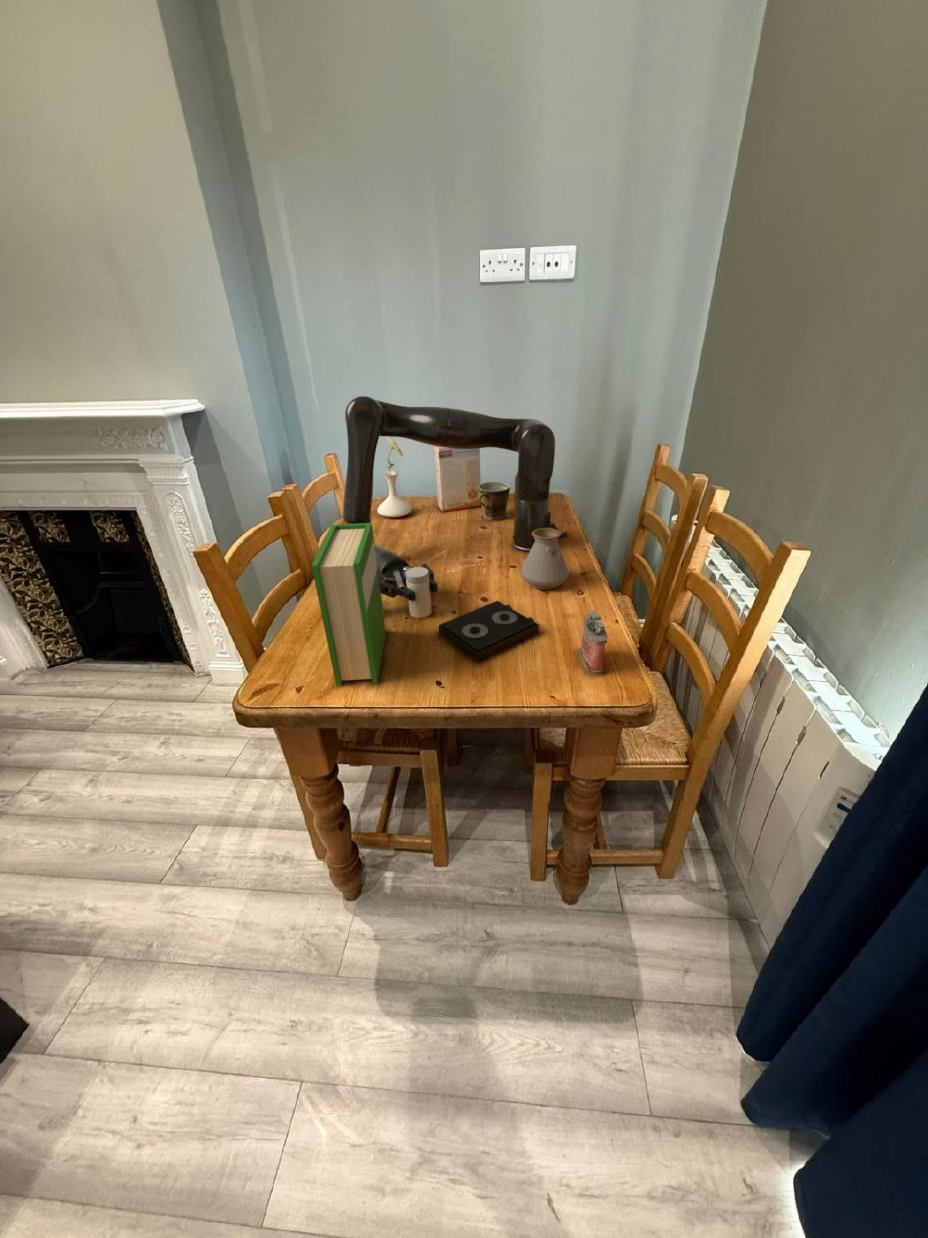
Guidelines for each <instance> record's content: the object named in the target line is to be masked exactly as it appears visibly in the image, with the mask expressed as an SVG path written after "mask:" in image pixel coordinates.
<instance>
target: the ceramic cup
mask: <svg viewBox="0 0 928 1238" xmlns="http://www.w3.org/2000/svg"><path fill="white" fill-rule="evenodd" d="M478 489H479V495H480V498H479V501H480V503H481V508H482V514H483V517H484V519H485V520H488V521H500V520H503V519H504V518H505V517H506V512H507V507H508V501H509V497H510V492H511V485H510V484H509V483H507V482H502V481H489V482H483V483H481V485H479V486H478Z"/></svg>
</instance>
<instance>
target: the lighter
mask: <svg viewBox="0 0 928 1238" xmlns="http://www.w3.org/2000/svg"><path fill="white" fill-rule="evenodd" d="M582 627H583V628H582V635H581V644H580V648H579V658H580V661H581V664H582V665H583V667H584V668H585V670H586V671H587V672H588V673H589V674H591V675H593V676H600V675H602V674H603V673H604V658H605V651H606V644H607V643H608V634H607V631H606V626H605V624H604V623H603V621H602V616H601V614H600V613H599V614H598V613H597V611H596V610H589V612H588V616H587V617H584V618H583V619H582Z"/></svg>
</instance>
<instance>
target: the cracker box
mask: <svg viewBox="0 0 928 1238" xmlns="http://www.w3.org/2000/svg"><path fill="white" fill-rule="evenodd" d="M433 449H434V450H433V451H434V466H435V477H436V492H437V507H438V508H439V509H440V510H441V511H442V512H450V511H457V510H462V509H470V508H476V507H477V508H478V507H482V504H481V503H480V501H479V498H480V495H479V489H478V486H479V485H481V484H482V483H481V481H482V480H481V479H482V477H481V448H478V449H452V448H444V447H438V446H433Z"/></svg>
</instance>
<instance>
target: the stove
mask: <svg viewBox="0 0 928 1238" xmlns="http://www.w3.org/2000/svg"><path fill="white" fill-rule="evenodd" d="M437 627H438V628H437V629H438V630H437V631H438V635H439V636H441V637H442V638H443V639H445V640H446V641H447V642H449V643H450V644H452V645H453V646H454V647H455V648H457V649H458V650H459V651H461V652H463V653H464V654H465V655H467V656H468V657H469V658H470V659H472V660H473V661H474V662H475V663H480V662H482V661H484V660H486V659H488V658H491V657H492V656H495V655H496V654H498V653H501V652H503V651H505V650H507V649H509V648H511V647H513V646H515V645H517V644H519V643H521V642H524V641H525V640H528V639H529V638H531V637H533V636H535V635H537V634H539V623H537V622H535V620H534V618H533V617H532V616H529V617H527V616H525V615H523V614H521V613H520V612H518V611H516V610H515V609H513V607H512V606H511V604H509V603H508V604H505V603H502V602H501V601H499V600H495V601H493V602H490V603H488V604H486V605H483V606H481V607H479V608H476V609H473V610H471V611H469V612H466V613H464V614H461V615H459V616H457V617H454V618H452V619H450V620H447V621H445V622H442V623H440V624H438V625H437Z"/></svg>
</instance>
